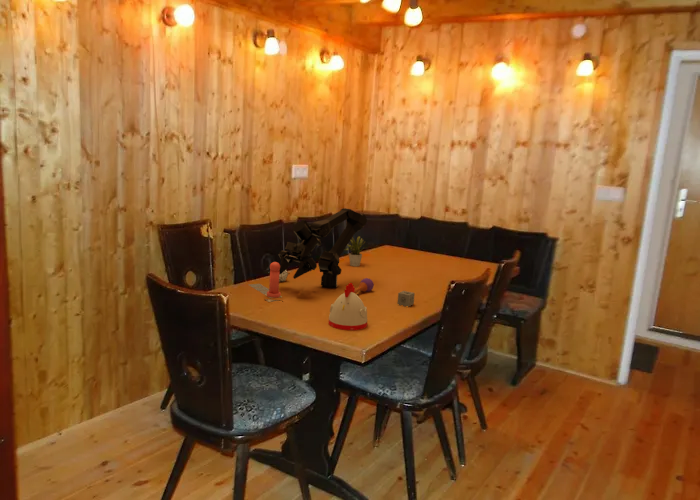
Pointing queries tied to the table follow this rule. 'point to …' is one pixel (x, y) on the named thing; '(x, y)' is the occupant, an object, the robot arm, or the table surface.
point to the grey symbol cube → (406, 298)
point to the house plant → (355, 252)
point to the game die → (283, 276)
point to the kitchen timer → (348, 311)
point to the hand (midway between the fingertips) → (286, 275)
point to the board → (262, 290)
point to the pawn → (274, 280)
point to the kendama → (365, 285)
